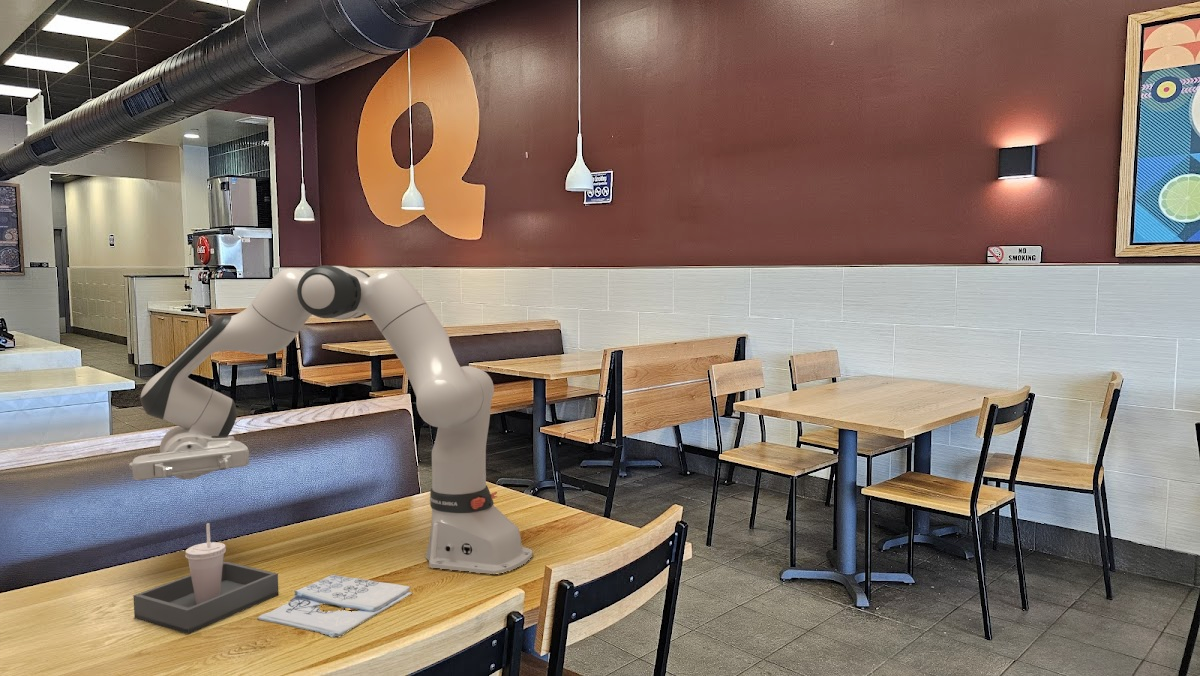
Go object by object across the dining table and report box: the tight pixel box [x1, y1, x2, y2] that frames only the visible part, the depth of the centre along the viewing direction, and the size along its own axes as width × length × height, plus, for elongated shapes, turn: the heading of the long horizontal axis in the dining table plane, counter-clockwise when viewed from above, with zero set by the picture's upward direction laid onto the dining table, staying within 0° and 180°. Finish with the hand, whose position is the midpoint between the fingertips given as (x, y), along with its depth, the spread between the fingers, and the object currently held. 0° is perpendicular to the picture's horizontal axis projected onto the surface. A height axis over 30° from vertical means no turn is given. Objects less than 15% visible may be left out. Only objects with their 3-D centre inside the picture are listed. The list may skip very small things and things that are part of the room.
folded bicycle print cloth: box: [257, 574, 413, 638], centre depth 139 cm, size 19×20×2 cm
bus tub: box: [132, 561, 280, 635], centre depth 139 cm, size 14×18×4 cm
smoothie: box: [185, 522, 227, 604], centre depth 138 cm, size 6×6×14 cm
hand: (196, 469), depth 147 cm, fingers open, 8 cm apart
